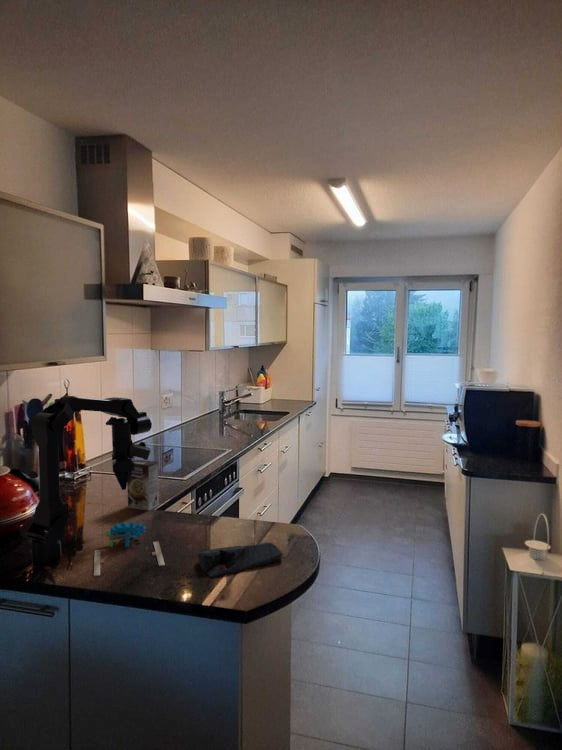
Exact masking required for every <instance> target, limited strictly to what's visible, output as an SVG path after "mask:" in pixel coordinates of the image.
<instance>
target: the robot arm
mask: <svg viewBox="0 0 562 750" xmlns="http://www.w3.org/2000/svg"><path fill="white" fill-rule="evenodd" d="M77 411H85V412H86V411H88V412H90V411H91V412H100V413H104V414H106V415H109V416H111V417H109V419H108V420H107V421H106V422H105V425H106V426H111V441H112V442H111V445H112V446H111V447H112V452H111V460H112V472H113V473H114V477H115V478H116V480H117V482H118V484H119V486H120V488H121V490H122V491H125V490H127V481H128V475H129V473H130V472H131V471H133V470H135V468H134V461H135V460H133V459H134V457H137V458H140V459H142V460H147V461H149V460H148V459H149V458H150V454H151V451H152V450H151V448H150V447H149V446H147V443H146V441H145V442H143V441H140V442H139V443H138V444H137V443H134V442H133V439H132V436H137V435H140V434H144V433H148V432H150V431H151V429H152V426H153V425H152V423H153V422H152V421H151V419H150V417H149V416H148V414H147V411H138V409H137V408H136V407H135V405H134V402H133V400H132V399H131V398H128V397H107V398H104V399H99V398H91V397H90V398H88V397H79V396H76V395H75V396H74V395H63V396H62V397H60V398H59V399H57V400H56V401H55V402H54V403H52V404H51V405H48V406H47V407H45V408H44V409H43V410H41V411H40V412H38V413H36V414H35V415H34V416H32V418H31V420H30V430H31V434H32V435H31V436H32V438H33V440H34V442H35V443H36V445H37V448H38V467H39V470H38V471H39V472H38V474H39V501H38V503H37V505H36V507H35V510H34V516H33V517H34V518H33V520H32V522H31V524H30V525H29V526H28V528H26V530H25V532H24V534H25V536H26V538H27V539H28V540H31V556H32V557H31V559H32V561H31V562H32V563H31V568H36V567H37V568H38V567H43V566H44V567H45V566H51V565H57V564H59V562H60V559H61V557H62V542H61V540H62V539H64V534H65V530H66V527H67V526H68V523H69V522H68V520H69V519H70V518H71V517H70V516H71V515H70V513H69V509H70V504H69V503H68V502H64V501H62V499H61V487H60V486H61V485H60V482H61V481H60V455H59V449H60V448H59V446H60V443H61V441H62V439H63V437H64V435H65V434H64V432H65V428H66V426H67V425H68V424H69V423H70V421H71V420H72V419H73V417H74V415H75V412H77ZM113 416H114V417H113ZM117 417H118V418H117Z"/></svg>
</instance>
